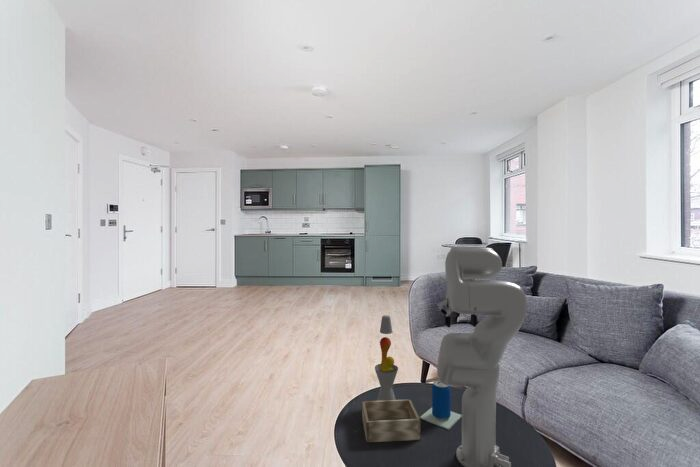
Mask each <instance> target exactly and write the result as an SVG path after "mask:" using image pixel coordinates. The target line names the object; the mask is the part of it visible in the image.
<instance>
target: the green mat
mask: <svg viewBox="0 0 700 467" xmlns="http://www.w3.org/2000/svg"><path fill="white" fill-rule="evenodd" d="M419 418H420V420H423V421H426V422H428V423H431V424H433V425H436V426H438V427H441V428H443V429H446V430H447V431H449V430H450V429H451V428H452V427H453V426H454V425H455V424H456V423H457V422H458V421H459V420H460V419H462V414H461V413H457V412H454V411H452V410H451V416H450V417H449V418H448V419H446V420H440V419H437V418H435V416H433V414H432V407H430V408H429V409H428V410H427V411H425V412H424V413H423V414H421V416H419Z"/></svg>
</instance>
